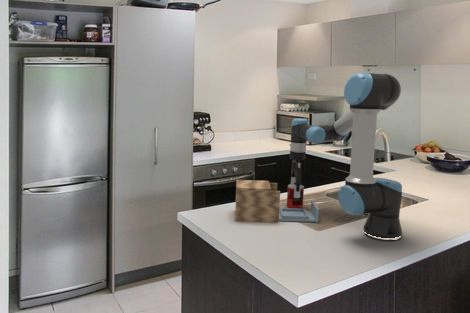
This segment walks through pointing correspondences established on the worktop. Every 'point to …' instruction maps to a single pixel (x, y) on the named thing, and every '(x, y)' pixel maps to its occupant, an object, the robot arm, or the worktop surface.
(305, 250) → the worktop surface
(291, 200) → the canned food
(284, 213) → the tray
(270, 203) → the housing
